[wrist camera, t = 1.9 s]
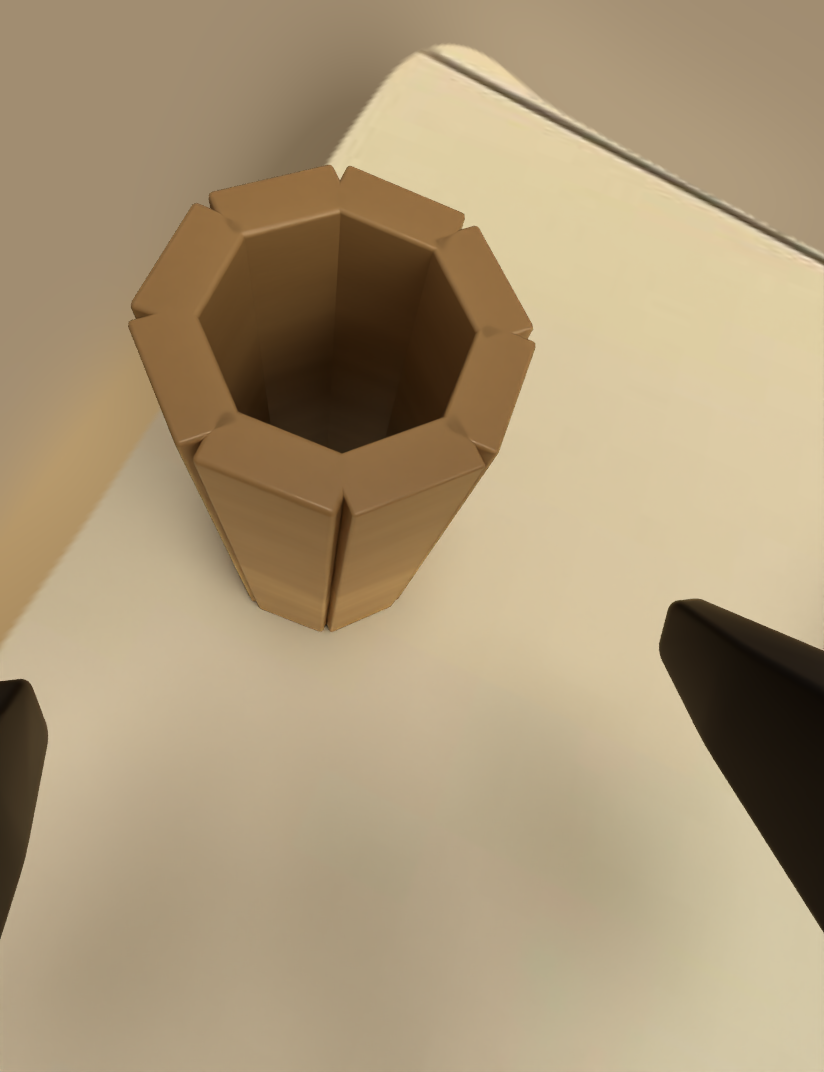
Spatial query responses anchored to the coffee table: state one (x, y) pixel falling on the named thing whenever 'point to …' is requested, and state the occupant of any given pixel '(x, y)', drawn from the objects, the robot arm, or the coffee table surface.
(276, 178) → the tall ring
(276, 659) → the coffee table surface
